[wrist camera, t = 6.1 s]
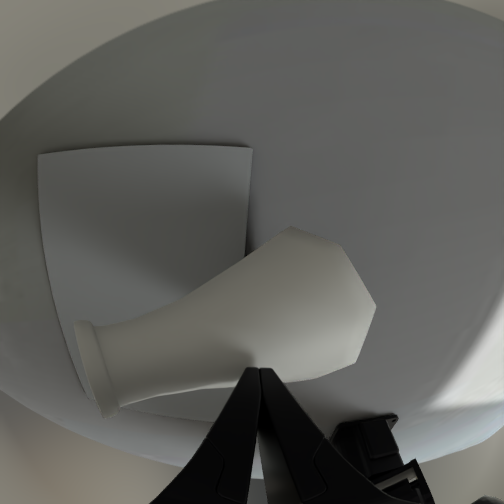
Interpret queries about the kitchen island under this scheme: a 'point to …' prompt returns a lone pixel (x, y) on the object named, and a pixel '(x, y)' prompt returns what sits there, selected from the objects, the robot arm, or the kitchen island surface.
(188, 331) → the flask
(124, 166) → the mat
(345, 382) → the kitchen island surface
